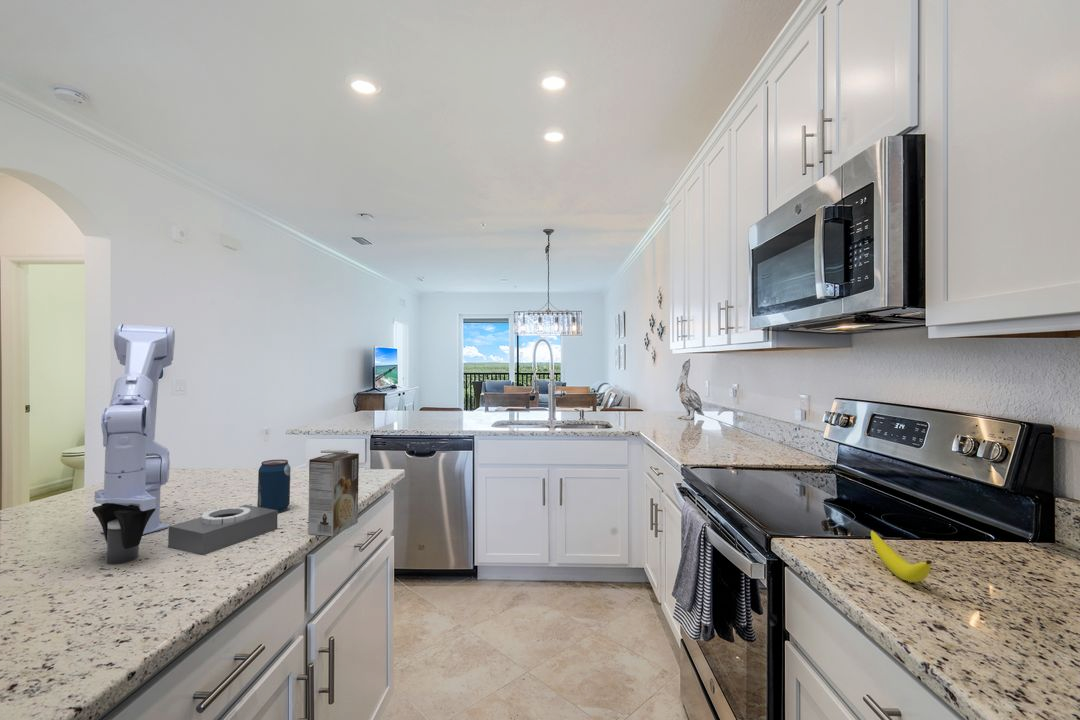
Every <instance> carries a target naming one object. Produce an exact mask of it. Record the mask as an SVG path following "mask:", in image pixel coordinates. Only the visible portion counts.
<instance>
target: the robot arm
mask: <svg viewBox="0 0 1080 720" xmlns="http://www.w3.org/2000/svg"><path fill="white" fill-rule="evenodd" d="M175 335H176V334H175V328H173V327H172V326H170V325H169V326H157V325H155V326H154V325H151V326H150V325H134V324H133V325H132V324H124V323H118V325H116V326H115V328H114V333H113V346H114V347H113V348H114V350H115V353H116V357H117V358H116V359H117V360H118V362H119V364H120V366H121V365H122V366H124V367H125V368H124V374H123V375H120V376H119V377H118V378H116V380H114V381H115V382H114V385H113V389H112V395H111V399H110V402H109V407H108V408H107V407H104V409H103V410H102V414H101V421H100V422H101V423H100V424H101V427H100V428H101V432H102V446H103V448H104V447H105V450H104V479H103V481H104V483H103V489H100V490H99V489H98V490H95V491H94V502H95V503H96V504H100V505H98V506H97V505H96V506H94V507H92V509H91V510H92V512H93V514H94V515H95V516H96V518H97V519H98V521H99V523H100V525H101V529H100V533H102V534H103V535H104V537H105V541H106V543H107V530H108V522H110V521H112V520H115V519H118V522H119V524H120V528H121V534H122V543H123V547H124V549H128V548H132V547H135V546H138V545H139V546H140V544H141V541H142V538H143V535H145V534H150V533H152V532H153V533H154V532H157V531H160V530H164V529H167V528H168V529H169V526H170V525H169V524H166V523H163V522H160V521H161V520H160V519H161V518H160V516H161V492H162V491H161V487H162V486H163V485H164V486H165V485H166V484H167V483H168V482H169V478H170V469H171V468H170V465H171V464H170V462H171V461H170V451H169V450H168V448H167V447H166V446H164V445H162V444H161V443H158V442H157V441H156V440H155V439H156V438H155V436H156V423H157V420H156V419H157V407H158V391H159V378H160V376H161V373H162V370H163V369H164V368H167V367H169V366H171V365H172V363H173V360H174V353H175V341H176V340H175V339H176V338H175V337H176V336H175Z"/></svg>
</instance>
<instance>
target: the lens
mask: <svg viewBox="0 0 1080 720" xmlns="http://www.w3.org/2000/svg"><path fill="white" fill-rule="evenodd" d="M139 546H140V544H139V545H138V546H135V547H132V548H128V549H124V547H123V543H122V534H121V528H120V524H119V522H118V519H115V520H112V521H110V522H108V530H107V542H106V561H105V563H106V564H108V565H118V564H125V563H129V562H132V561H134V560H137V559H138V558H139V553H140V552H139V549H140V547H139Z"/></svg>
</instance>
